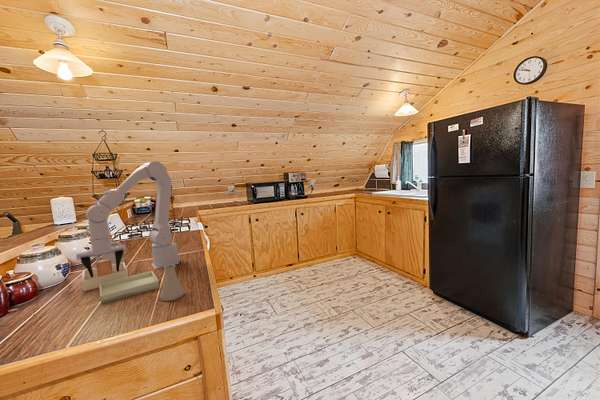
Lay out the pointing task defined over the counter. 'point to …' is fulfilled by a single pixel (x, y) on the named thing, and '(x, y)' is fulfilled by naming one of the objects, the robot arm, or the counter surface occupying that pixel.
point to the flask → (171, 285)
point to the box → (102, 277)
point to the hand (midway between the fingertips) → (105, 273)
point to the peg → (104, 268)
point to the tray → (127, 286)
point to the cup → (109, 255)
